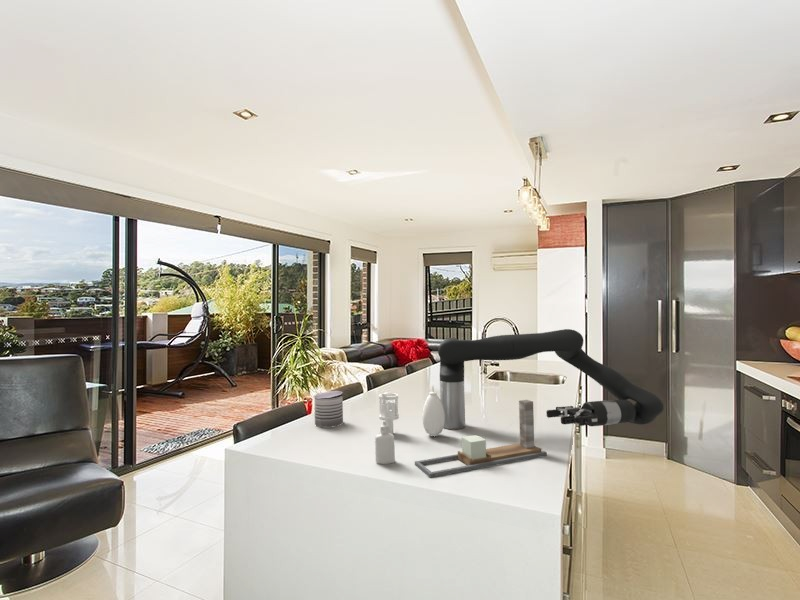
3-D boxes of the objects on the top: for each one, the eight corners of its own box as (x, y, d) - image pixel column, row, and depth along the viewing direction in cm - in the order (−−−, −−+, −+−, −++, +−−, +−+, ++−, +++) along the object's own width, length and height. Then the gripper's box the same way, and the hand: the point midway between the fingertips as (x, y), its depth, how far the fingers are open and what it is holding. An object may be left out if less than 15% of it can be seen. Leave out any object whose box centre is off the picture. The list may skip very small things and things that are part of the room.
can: (340, 427, 164) (340, 395, 164) (311, 427, 164) (310, 396, 164) (345, 419, 175) (344, 390, 176) (317, 419, 176) (317, 390, 176)
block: (462, 454, 127) (461, 437, 127) (476, 451, 129) (476, 435, 129) (471, 459, 122) (470, 442, 122) (486, 457, 124) (485, 439, 124)
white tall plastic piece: (375, 434, 153) (375, 392, 154) (385, 429, 160) (384, 389, 160) (393, 437, 150) (392, 394, 150) (402, 431, 156) (401, 390, 157)
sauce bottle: (444, 440, 146) (442, 387, 146) (421, 439, 147) (420, 386, 148) (446, 433, 154) (445, 382, 154) (424, 432, 155) (423, 382, 155)
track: (414, 465, 124) (414, 461, 124) (525, 445, 138) (525, 442, 138) (429, 477, 114) (429, 473, 114) (547, 455, 129) (546, 452, 129)
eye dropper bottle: (379, 458, 130) (378, 418, 130) (396, 460, 128) (395, 420, 128) (373, 463, 126) (372, 422, 126) (391, 465, 124) (390, 423, 124)
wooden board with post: (457, 458, 127) (456, 406, 127) (526, 446, 137) (525, 398, 137) (470, 466, 121) (468, 411, 121) (541, 453, 130) (540, 402, 130)
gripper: (587, 396, 143) (542, 400, 140) (615, 405, 129) (566, 410, 126) (588, 419, 143) (543, 423, 140) (616, 431, 129) (567, 435, 126)
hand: (554, 417), depth 133 cm, fingers open, 8 cm apart
